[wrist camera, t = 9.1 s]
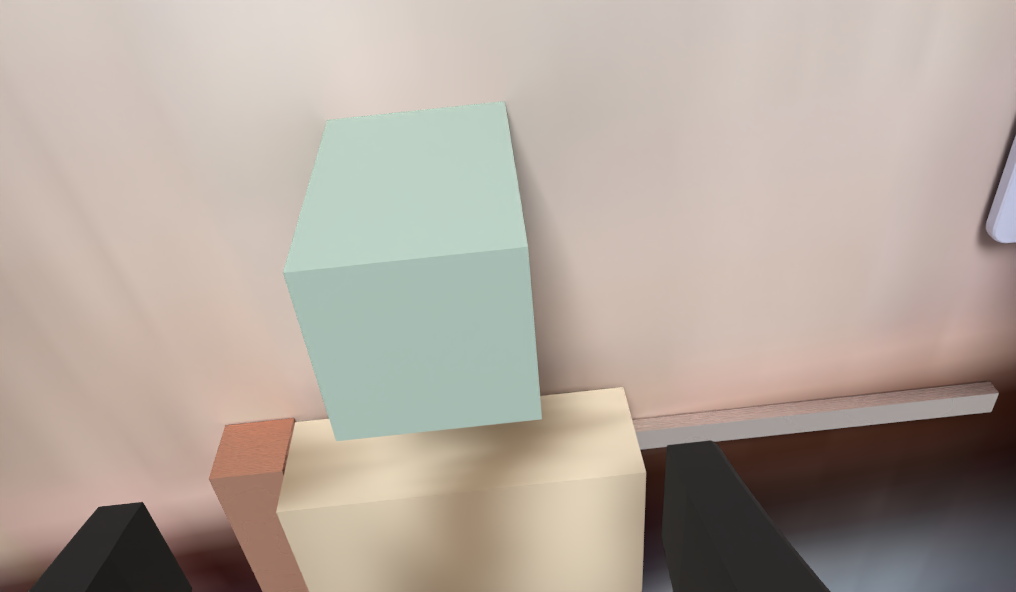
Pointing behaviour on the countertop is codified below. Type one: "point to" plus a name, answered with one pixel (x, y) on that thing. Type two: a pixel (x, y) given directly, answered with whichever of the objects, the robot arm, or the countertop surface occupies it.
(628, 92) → the countertop surface
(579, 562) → the cream rectangular box
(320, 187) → the block
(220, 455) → the track
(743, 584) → the robot arm
